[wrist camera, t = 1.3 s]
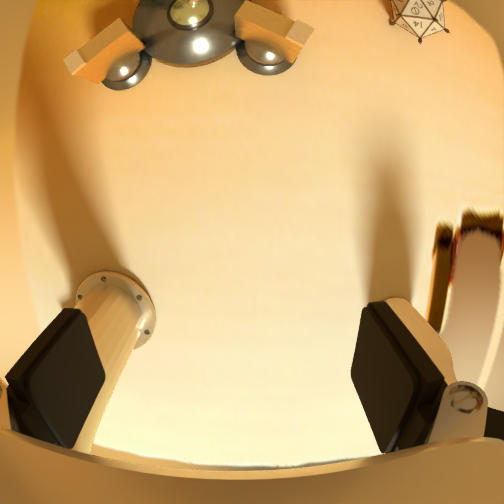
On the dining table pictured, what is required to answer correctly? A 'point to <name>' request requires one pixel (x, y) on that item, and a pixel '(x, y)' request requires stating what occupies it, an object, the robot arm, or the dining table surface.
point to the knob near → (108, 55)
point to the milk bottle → (425, 336)
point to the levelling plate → (189, 36)
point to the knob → (269, 34)
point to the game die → (419, 16)
